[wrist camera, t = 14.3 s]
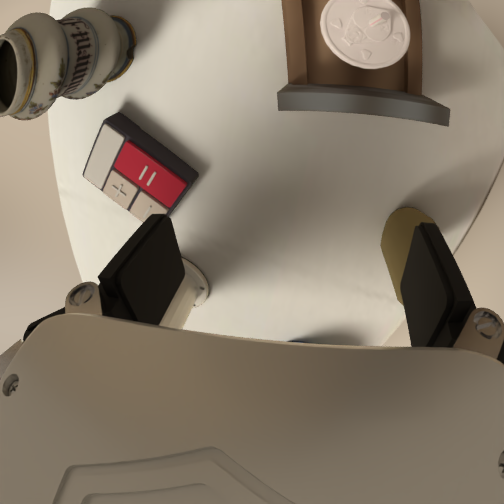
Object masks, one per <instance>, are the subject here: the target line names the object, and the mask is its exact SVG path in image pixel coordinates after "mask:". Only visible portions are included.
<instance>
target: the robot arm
mask: <svg viewBox="0 0 504 504" xmlns="http://www.w3.org/2000/svg"><path fill="white" fill-rule="evenodd" d="M98 278H99V281H100V284H99V285H97V284H96V283H94V282H84V283H81V284H79V285H77V286H76V287H74V288H73V289H72V290H71V291H70V292H69V293H68V295H67V297H66V301H65V307H64V308H62V309H60V310H58V311H56V312H53V313H51V314H49V315H47V316H45V317H43V318H41V319H39V320H37V321H35V322H33V323H31V324H30V325H29V326H28V328H27V330H26V331H25V334H24V337H23V340H24V341H23V342H22V340H21V339H20V340H19V341H18V342H16V343H15V344H14V345H13V346H11V347H10V348H9V349H8V350H6V351H5V352H4V353H3V354H2V355H0V504H504V323H503V321H502V319H501V318H500V317H499V315H498V314H496V313H495V312H494V311H492V310H490V309H487V308H477V309H476V306H475V304H474V301H473V298H472V296H471V294H470V291H469V290H468V287H467V284H466V282H465V280H464V278H463V276H462V274H461V271H460V269H459V267H458V265H457V263H456V261H455V259H454V257H453V255H452V253H451V251H450V249H449V247H448V245H447V243H446V241H445V239H444V238H443V236H442V234H441V232H440V230H439V228H438V227H437V225H436V224H435V223H427V222H421V223H420V224H419V226H415V229H414V233H413V237H412V241H411V246H410V250H409V253H408V257H407V261H406V265H405V268H404V272H403V276H402V279H401V283H400V291H401V296H402V300H403V305H404V309H405V314H406V319H407V324H408V329H409V334H410V340H411V346H412V347H383V346H348V345H327V344H311V343H297V342H284V341H273V340H262V339H253V338H243V337H235V336H226V335H219V334H211V333H204V332H197V331H190V330H183V326H184V324H185V322H186V320H187V318H188V316H189V314H190V312H191V309H192V308H195V307H198V306H200V305H202V304H203V303H204V302H205V300H206V298H207V296H208V293H209V287H208V283H207V281H206V279H205V277H204V276H203V274H202V273H201V272H200V271H199V269H198V268H197V267H195V266H194V265H193V264H192V263H190V262H189V261H187V260H185V259H183V258H182V257H181V254H180V250H179V247H178V243H177V239H176V236H175V232H174V228H173V224H172V221H171V219H170V218H169V217H167V215H166V214H151V215H150V216H149V217H148V218H147V219H146V220H145V221H144V223H143V224H142V225H141V226H140V227H139V228H138V229H137V230H136V232H135V233H134V234H133V235H132V236H131V237H130V238H129V240H128V241H127V242H126V243H125V244H124V245H123V247H122V248H121V249H120V250H119V251H118V252H117V254H116V255H115V256H114V257H113V258H112V260H111V261H110V262H109V263H108V265H107V266H106V267H105V268H104V270H103V271H102V272H101V273H100V275H99V276H98Z"/></svg>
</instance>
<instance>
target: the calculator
mask: <svg viewBox="0 0 504 504" xmlns="http://www.w3.org/2000/svg"><path fill="white" fill-rule="evenodd" d="M198 176H199V174H198V173H197V172H196V171H195V170H194V169H193V168H191V167H190V166H189V165H188V164H186V163H185V162H184V161H182V160H181V159H180V158H179V157H177V156H176V155H175V154H174V153H172V152H171V151H170V150H168V149H167V148H166V147H164V146H163V145H162V144H160V143H159V142H158V141H156V140H155V139H153V138H152V137H151V136H149V135H148V134H146V133H145V132H144V131H142V130H141V129H140V127H139V126H138V125H136V124H135V123H134V122H132V121H131V120H130V119H128V118H127V117H126V116H124V115H123V114H122V113H120V112H118V113H116V114H114V115H112V116H110V117H108V118H106V119H105V120H104V121H103V123H102V125H101V128H100V130H99V132H98V135H97V137H96V140H95V142H94V145H93V147H92V150H91V152H90V155H89V158H88V160H87V163H86V166H85V169H84V171H83V177H84V178H86V179H87V180H88V181H90V182H91V183H92V184H94V185H95V186H96V187H97V188H99V189H100V190H101V191H103V193H104V194H106V195H107V196H108V197H110V198H111V199H112V200H114V201H115V202H116V203H118V204H119V205H120V206H122V207H123V208H124V209H127V210H128V211H129V212H130V213H131V214H132V215H134V216H135V217H136V218H138V219H139V220H141V221H142V222H143V223H144V221H145V220H146V219H147V218H148V217H149V216H150V215H151V214H166V215H167V217H168V216H169V215H170V214H171V212H172V211H173V210H174V208H175V207H176V205H177V204H178V203H179V201H180V200H181V199H182V197H183V196H184V195H185V193H186V192H187V191H188V190H189V188H190V187H191V186H192V184H193V183H194V182H195V180H196V179H197V178H198Z"/></svg>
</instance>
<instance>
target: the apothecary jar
mask: <svg viewBox="0 0 504 504" xmlns="http://www.w3.org/2000/svg"><path fill="white" fill-rule="evenodd" d="M135 46H136V35H135V31H134V29H133V27H132V26H131V24H130V23H129V22H128V21H127V20H125V19H124V18H122V17H118V16H109V15H108V14H107V13H105V12H104V11H102V10H99V9H96V8H81V9H78V10H75V11H73V12H71V13H69V14H67V15H66V16H65V17H63V18H62V19H61V20H55V19H54V18H53V17H51V16H49V15H47V14H44V13H31V14H28V15H25V16H23V17H21V18H20V19H18V20H17V21H15V22H14V23H13V24H12V25H11V26H10V27H9V28H8V30H7V31H6V33H5V34H2V35H0V117H3V116H7V115H10V116H12V117H13V118H15V119H18V120H31V119H34V118H37V117H39V116H40V115H42V114H43V113H45V112H46V111H47V110H48V109H49V108H50V107H51V106H52V104H53V103H54V102H55V100H56V98H58V97H61V96H63V97H65V98H68V99H83V98H86V97H89V96H91V95H93V94H94V93H96V92H97V91H98V90H100V89H101V88H102V87H103V86H104V85H105V84H106V82H111V81H114V80H116V79H117V78H119V77H120V76H122V75H123V74H124V73H125V72H126V71H127V69H128V68H129V66H130V65H131V63H132V61H133V48H134V47H135Z"/></svg>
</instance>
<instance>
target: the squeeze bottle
mask: <svg viewBox="0 0 504 504" xmlns="http://www.w3.org/2000/svg"><path fill="white" fill-rule="evenodd" d="M421 222H427V223H435V222H434V221H433V219H431V218H430V217H428V216H427V215H425V214H424V213H422V212H421V211H419V210H417V209H415V208H410V207H404V208H401V209H398V210H396V211H395V212H393V213H392V214H391V215H390V216H389V218H388V220H387V221H386V224H385V227H384V231H383V234H382V239H381V245H380V246H381V249H382V252H383V256H384V258H385V261H386V264H387V267H388V270H389V273H390V276H391V280H392V283H393V286H394V289H395V293H396V296H397V299H398V301H399V302H400V303H401V304H402V305H403V300H402V296H401V291H400V283H401V279H402V276H403V272H404V268H405V265H406V261H407V257H408V253H409V250H410V246H411V241H412V237H413V233H414V229H415V226H419V224H420V223H421ZM435 224H436V223H435ZM437 227H438V226H437ZM403 306H404V305H403Z"/></svg>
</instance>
